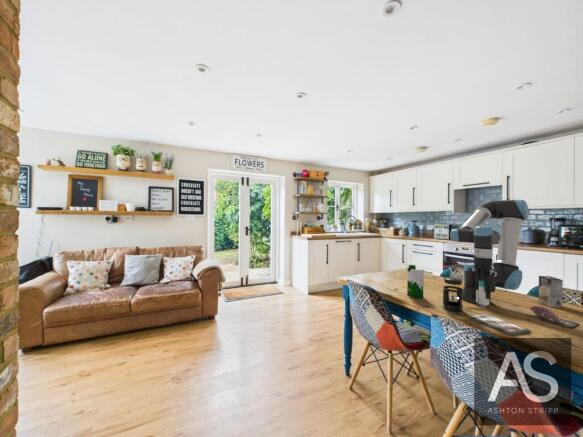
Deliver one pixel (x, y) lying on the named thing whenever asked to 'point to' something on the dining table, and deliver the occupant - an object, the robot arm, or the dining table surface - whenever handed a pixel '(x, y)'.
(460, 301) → the black lantern
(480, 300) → the marker
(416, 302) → the dining table surface
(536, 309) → the purple oval lump
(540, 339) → the dining table surface
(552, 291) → the coffee box
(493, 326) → the tablet
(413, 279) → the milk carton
